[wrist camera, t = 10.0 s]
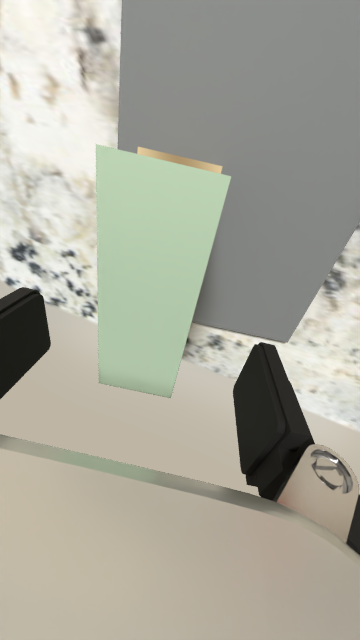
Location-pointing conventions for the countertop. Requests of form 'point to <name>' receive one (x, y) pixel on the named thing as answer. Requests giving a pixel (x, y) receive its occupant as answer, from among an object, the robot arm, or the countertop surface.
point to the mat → (254, 139)
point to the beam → (150, 263)
